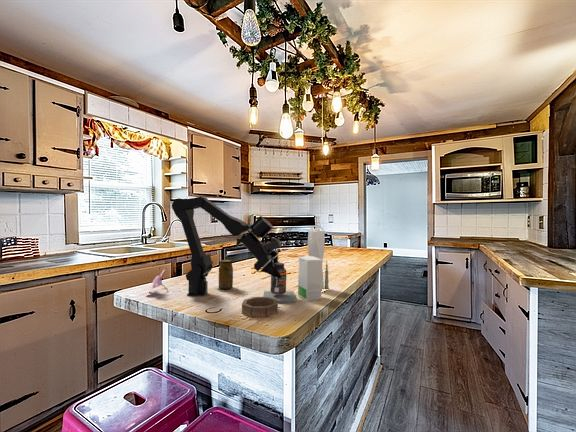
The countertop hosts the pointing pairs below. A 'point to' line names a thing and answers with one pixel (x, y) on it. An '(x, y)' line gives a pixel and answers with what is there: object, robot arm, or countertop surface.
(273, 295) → the pad
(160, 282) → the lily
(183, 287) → the countertop surface
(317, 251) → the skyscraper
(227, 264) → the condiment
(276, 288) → the supplement bottle
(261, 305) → the collar ring
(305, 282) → the skincare box
